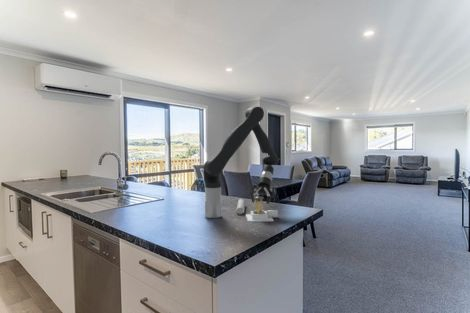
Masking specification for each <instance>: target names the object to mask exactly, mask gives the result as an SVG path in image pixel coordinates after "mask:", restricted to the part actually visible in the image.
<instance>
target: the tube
mask: <svg viewBox="0 0 470 313" xmlns="http://www.w3.org/2000/svg"><path fill="white" fill-rule="evenodd" d="M245 206H246V200H245V199H243V198H239V199H238V200H237V205H236V210H235V211H236V214H237V215H244V213H245Z"/></svg>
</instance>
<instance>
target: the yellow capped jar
mask: <svg viewBox="0 0 470 313" xmlns="http://www.w3.org/2000/svg"><path fill="white" fill-rule="evenodd" d="M254 199H255V202H254V211H255V214H263V211H264V207H263V206H264V205H263V204H264V203H263V202H264V201H263V200H264V199H265V198H264V195H258V196H255V197H254Z"/></svg>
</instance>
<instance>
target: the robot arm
mask: <svg viewBox="0 0 470 313" xmlns="http://www.w3.org/2000/svg"><path fill="white" fill-rule="evenodd" d="M244 114H245V120H243V122H242V123H240V124H239V125H238V126H237V127H235V128H234V129H233V130H232V131H231V132H230V133H229V135H228V136H227V137H226V139H225V140H224V143H223V144H222V147H221V149H220V151H219V153H217V155H216V156H215V157H214V158H213V159H207V160H206V161H205V162H204V165H203V181H204V190H205V191H204V193H205V196H204V198H205V201H204V216H205V217H204V218H205V219H208V218H209V219H217V218H221V217H222V182H221V180H220V177H219V176H220V174H221V173H222V172H223V170H224V169H225V167H226V165H227V164H228V162H229V161H230V159H231V158H232V157H233V155H235V153H236V152H237V150H238V149H239V148H240V147H241V146H242V144H243V143H244V141H245V140H246V139H247V138H248V136H249V135H250V134H251V132H252V131H253V134H254V136H255V138H256V141H257V142H258V147H259V149H260V151H261V153H262V154H267V155H264V156H263V157H262V160H261V162H262V170H261V174H260V175H259V180H258V183H257V186H256V187H255V186H252V187H251V189H250V192H249V195H250V198H251V202H252V204H255V199H254V197H255V196H267V197H266V204H267V205H270V203H271V199H274V198H275V194H276V188H275V187H274V186H273V187H271V186H272V182H273V175H274V166H276V165H278V164H279V161H280V159H279V156H278V155H277V153H276V152H275V150H274V149H273V147H272V144H271V142H270V138H269V137H268V135H267V134H266V132H265V131H264V129H263V128H262V126H261V124H260V122H261V121H262V120H263V118H264V115H265V112H264V109H263V108H262V107H261V106H252V107H249V108H246V110H245V113H244ZM270 192H271V194H270Z"/></svg>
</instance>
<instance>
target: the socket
mask: <svg viewBox="0 0 470 313" xmlns="http://www.w3.org/2000/svg"><path fill="white" fill-rule="evenodd" d="M278 217H279V212H278V209H272V210H269V209H268V210H263V214H255V210H250V213H246V214H245V218H246V220H247V222H248V223H251V222H252V223H256V222H257V223H258V222H259V223H260V222H261V223H262V222H274V221H275V220H274V218H278Z"/></svg>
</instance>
